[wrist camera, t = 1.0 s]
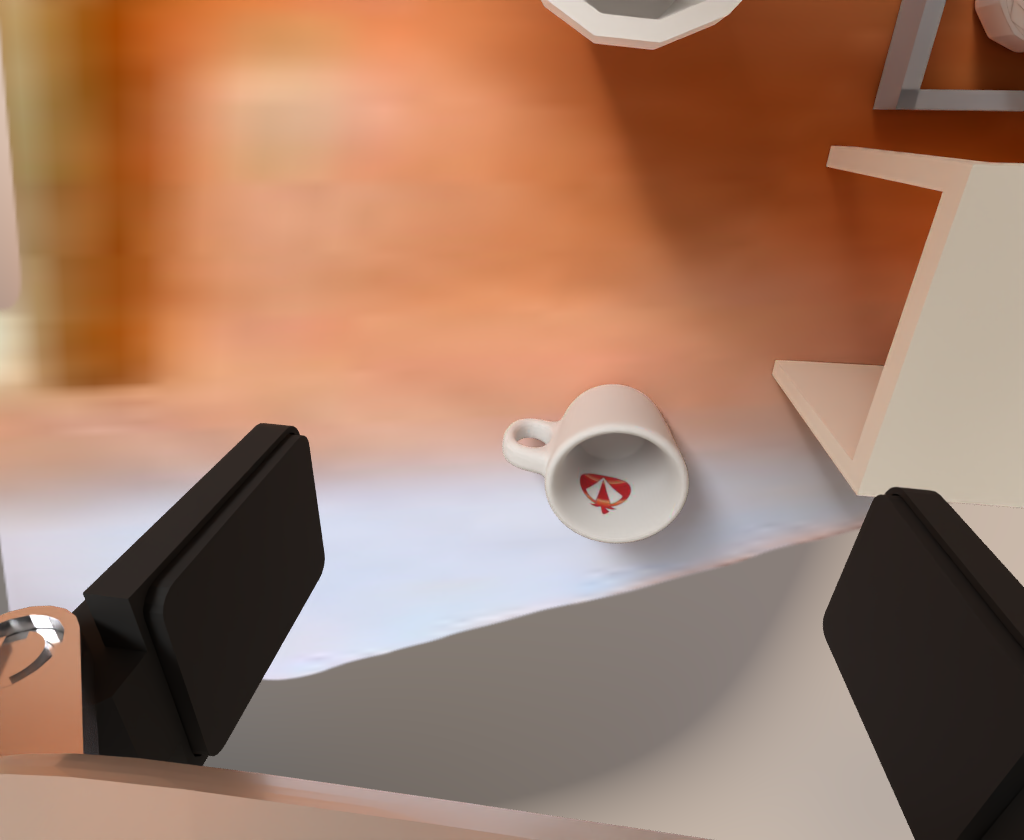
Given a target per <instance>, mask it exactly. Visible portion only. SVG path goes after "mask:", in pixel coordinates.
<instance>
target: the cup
mask: <svg viewBox="0 0 1024 840" xmlns="http://www.w3.org/2000/svg"><path fill="white" fill-rule="evenodd" d="M523 438H535V439H538V440H541V441H543V442H544V443H545V444H546V445H544V446H542V447H528V446H524V445H522V444H520V443H518V442H517V441H518V440H520V439H523ZM502 450H503V454H504V457H505V459H506V460H507V461H508V462H509V463H511V464H512V465H514V466H515V467H518V468H520V469H523V470H527V471H530V472H534V473H538V474H541V475H543V476H544V478H545V491H546V496H547V499H548V502H549V504H550V507H551V508H552V510H553V512H554V513H555V515H556V516H557V517H558V518H559V520H560V521H561V522H562V523H563V524H565V525H566V526H567V527H568V528H569V529H571V530H572V531H574V532H575V533H577V534H579V535H581V536H583V537H586V538H588V539H591V540H595V541H599V542H605V543H629V542H635V541H639V540H642V539H645V538H648V537H650V536H652V535H654V534H656V533H658V532H660V531H661V530H663V529H664V528H666V527H667V526H668V525H669V524H670V523H671V522H672V521H673V520H674V519H675V518H676V517H677V515H678V514H679V512H680V511H681V509H682V508H683V505H684V503H685V501H686V498H687V494H688V488H689V476H688V471H687V467H686V464H685V461H684V459H683V457H682V455H681V453H680V451H679V449H678V447H677V445H676V443H675V440H674V438H673V436H672V434H671V432H670V430H669V428H668V426H667V424H666V422H665V420H664V418H663V416H662V414H661V412H660V411H659V409H658V408H657V406H656V405H655V404H654V403H653V401H652V400H651V399H650V398H649V397H647V396H646V395H645V394H643V393H642V392H640V391H639V390H637V389H635V388H632V387H629V386H625V385H620V384H606V385H600V386H596V387H593V388H591V389H589V390H587V391H585V392H584V393H582V394H581V395H579V396H578V397H577V398H576V399H575V400H574V401H573V402H572V403H571V404H570V406H569V407H568V409H567V410H566V412H565V414H564V416H563V417H562V419H561V420H559V421H557V422H552V421H546V420H541V419H533V418H526V419H520V420H517V421H515V422H513V423H512V424H511V425H510V426H509V427H508V428H507V430H506V431H505V434H504V437H503V444H502Z"/></svg>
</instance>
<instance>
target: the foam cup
mask: <svg viewBox="0 0 1024 840" xmlns="http://www.w3.org/2000/svg"><path fill="white" fill-rule="evenodd" d="M541 1H542V3H543V5H544V7H546V8H547V9H548V10H550V11H551V12H552V13H554V14H555V15H556V16H558V17H559V18H561V19H562V20H563V21H565V22H566V23H567V24H569V25H570V26H571V27H573V28H574V29H575V30H577V31H578V32H579V33H581V34H582V35H583V36H585V37H586V38H587V39H589V40H590V41H591V42H593V43H596V44H604V45H613V46H622V47H631V48H640V49H649V50H654V49H657V48H659V47H662V46H664V45H667V44H669V43H671V42H674V41H676V40H679V39H681V38H684V37H686V36H688V35H691V34H693V33H696V32H698V31H701V30H703V29H706V28H708V27H710V26H713V25H715V24H716V23H718V22H719V21H720V20H722V19H723V18H724V17H726V16H727V15H729V14H730V13H731V12H732V10H733V9H734V8H735V7H736V6H737V5H738V4H739V3H740V2H741V1H742V0H541Z"/></svg>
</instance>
